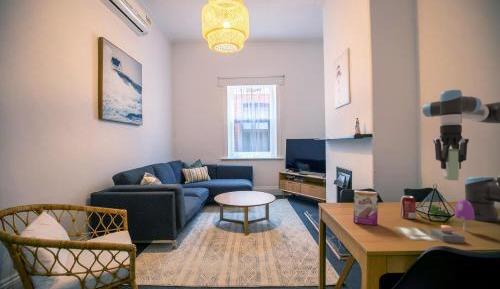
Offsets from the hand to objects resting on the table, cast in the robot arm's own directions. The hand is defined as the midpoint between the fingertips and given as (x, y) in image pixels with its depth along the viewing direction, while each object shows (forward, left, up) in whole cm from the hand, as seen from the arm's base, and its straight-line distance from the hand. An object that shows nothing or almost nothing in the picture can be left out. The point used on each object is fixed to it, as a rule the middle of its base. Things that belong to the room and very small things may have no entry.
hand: (450, 176), depth 105 cm
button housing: (+6, +6, -26) cm, 27 cm away
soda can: (+6, -24, -27) cm, 36 cm away
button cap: (+6, +6, -25) cm, 27 cm away
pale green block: (0, 0, -2) cm, 2 cm away
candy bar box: (+33, -11, -27) cm, 44 cm away
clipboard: (+12, +2, -27) cm, 29 cm away
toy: (-9, -5, -27) cm, 29 cm away
